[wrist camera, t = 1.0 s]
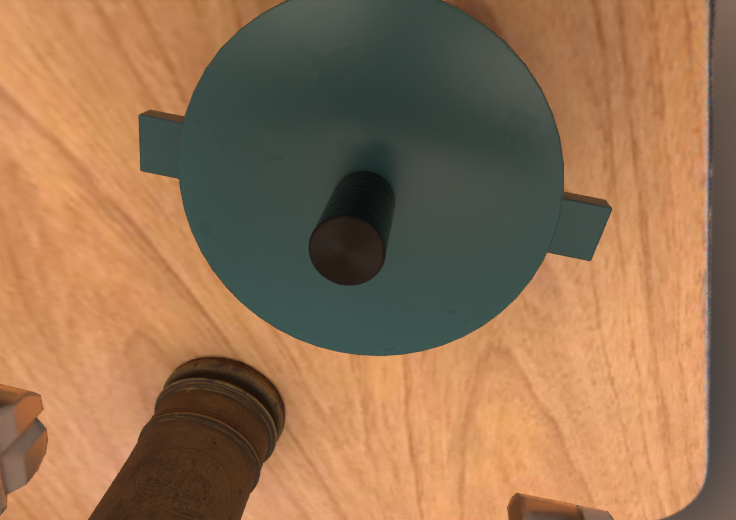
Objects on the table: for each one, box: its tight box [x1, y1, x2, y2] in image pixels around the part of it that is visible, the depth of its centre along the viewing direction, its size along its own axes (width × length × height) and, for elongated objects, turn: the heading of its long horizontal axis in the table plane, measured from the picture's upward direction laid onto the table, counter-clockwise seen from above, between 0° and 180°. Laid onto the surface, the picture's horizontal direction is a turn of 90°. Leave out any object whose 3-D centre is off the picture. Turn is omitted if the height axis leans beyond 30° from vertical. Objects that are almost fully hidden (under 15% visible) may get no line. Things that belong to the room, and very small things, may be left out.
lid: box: [178, 0, 564, 356], centre depth 19 cm, size 15×15×6 cm
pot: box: [139, 110, 612, 261], centre depth 25 cm, size 14×19×10 cm
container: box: [88, 358, 284, 520], centre depth 32 cm, size 9×9×18 cm
